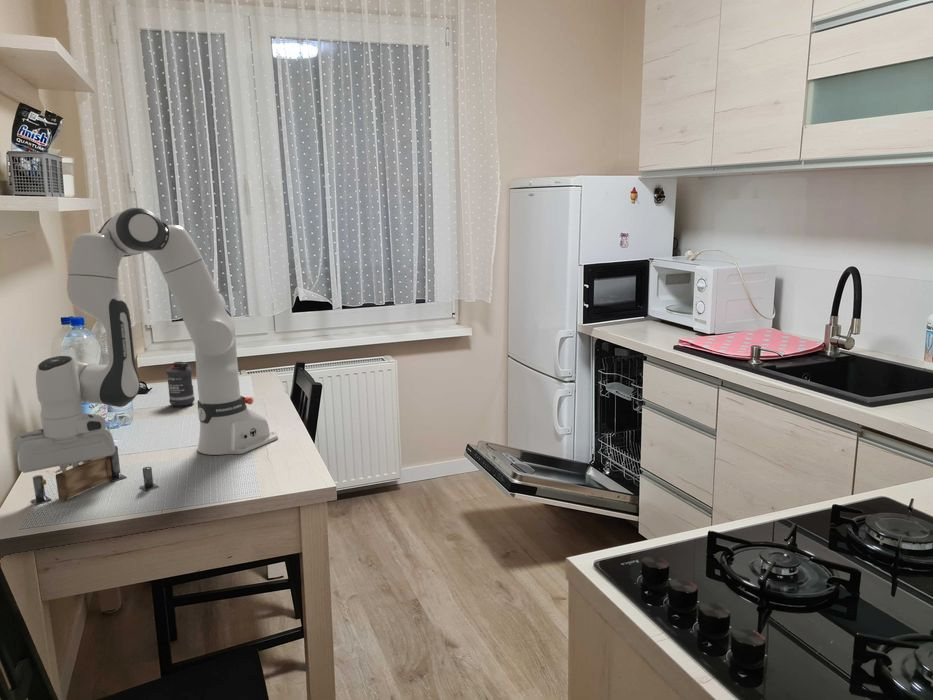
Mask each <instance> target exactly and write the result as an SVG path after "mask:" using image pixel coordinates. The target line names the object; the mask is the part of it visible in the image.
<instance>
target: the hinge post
mask: <svg viewBox="0 0 933 700" xmlns="http://www.w3.org/2000/svg"><path fill="white" fill-rule="evenodd" d="M110 463H111V471H112V479H111V480H109V481H108V482H111V483H114V482H117V481H120V480H123V479H126V478H127V476H125V475H124V474H122V473H121V465H120V457H119V447H118V446H117V445H116V444H115V452H114V454H113V455H111V456H110Z"/></svg>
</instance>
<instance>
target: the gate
mask: <svg viewBox="0 0 933 700" xmlns="http://www.w3.org/2000/svg"><path fill="white" fill-rule="evenodd" d="M111 479H112V471H111V463H110V456H106V457H101V458H96V459H91V460H87V461H85V462H84V463H81V464H79V465H78V466H76V467H73V466H72V468H71V467H70V468H68V469H66V471H64V472H62V471H61V472H59V473H56V474H55V481H56V489H57V496H58V500H59V501H63V502H65V501H66V500H68V499H69V498H72V497H75V496H76V495H79V494H81V493H83V492H85V491H88V490H90V489H93V488H95V487H96V486H99V485H101V484H104V483H105V482H107V481H108V482H110V481H109V480H111Z"/></svg>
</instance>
